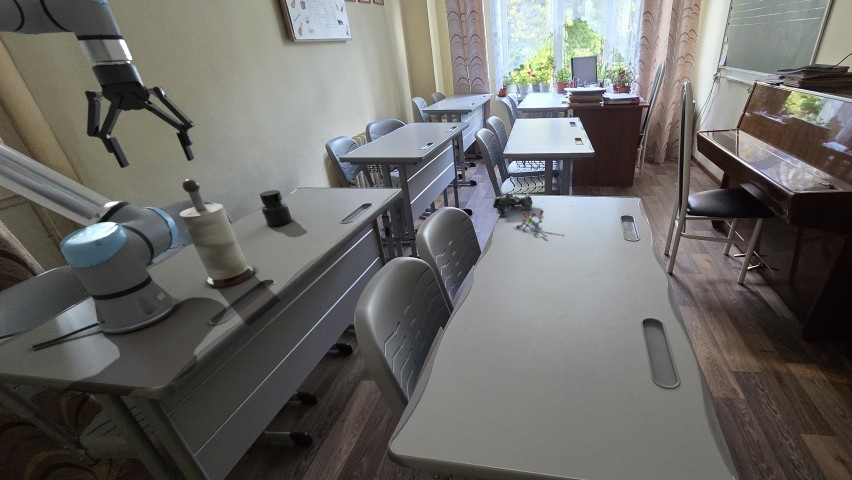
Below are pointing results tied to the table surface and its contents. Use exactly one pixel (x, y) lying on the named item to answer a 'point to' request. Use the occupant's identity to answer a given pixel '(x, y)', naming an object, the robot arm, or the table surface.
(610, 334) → the table surface
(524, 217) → the molecular model
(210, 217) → the towel holder
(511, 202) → the dark grey lumpy piece
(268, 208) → the ink bottle
